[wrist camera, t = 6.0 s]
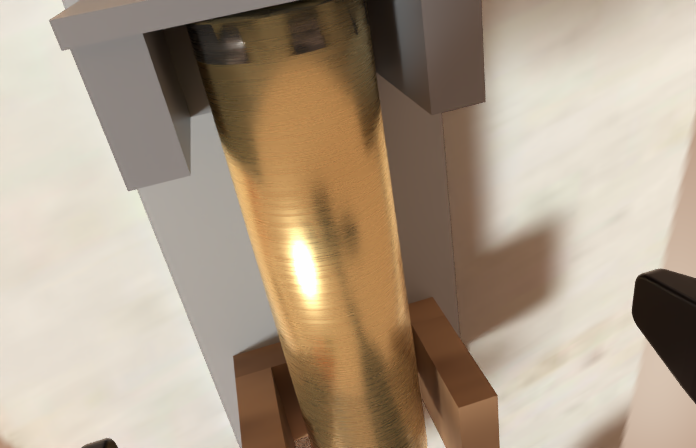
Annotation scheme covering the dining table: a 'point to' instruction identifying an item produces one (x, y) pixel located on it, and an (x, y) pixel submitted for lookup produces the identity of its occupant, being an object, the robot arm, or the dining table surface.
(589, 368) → the dining table surface
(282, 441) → the wooden u-shaped cradle
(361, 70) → the tube
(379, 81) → the board
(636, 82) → the dining table surface
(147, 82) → the socket
